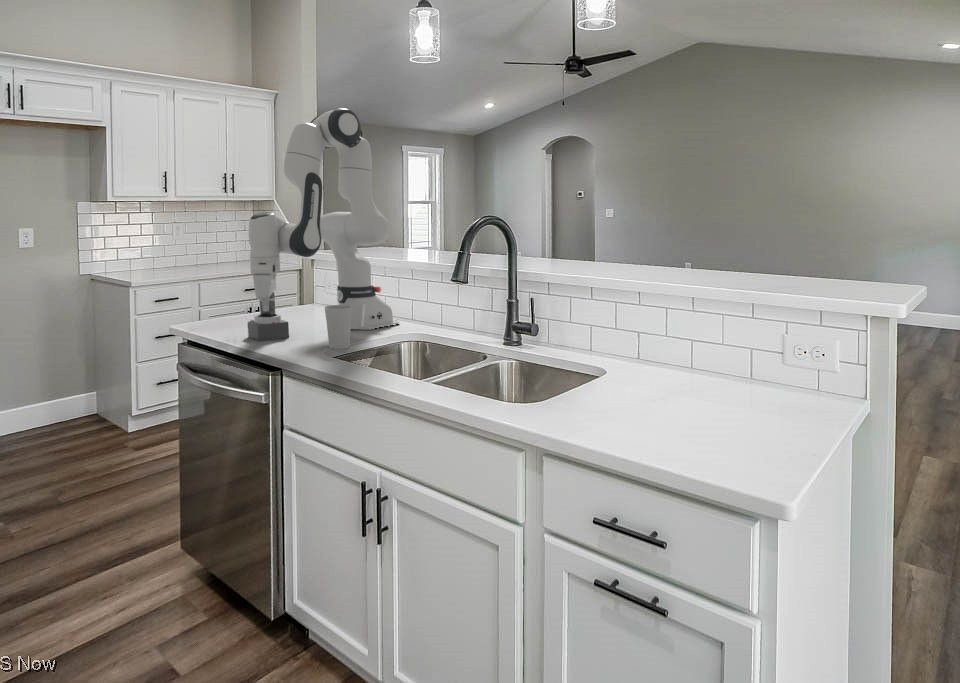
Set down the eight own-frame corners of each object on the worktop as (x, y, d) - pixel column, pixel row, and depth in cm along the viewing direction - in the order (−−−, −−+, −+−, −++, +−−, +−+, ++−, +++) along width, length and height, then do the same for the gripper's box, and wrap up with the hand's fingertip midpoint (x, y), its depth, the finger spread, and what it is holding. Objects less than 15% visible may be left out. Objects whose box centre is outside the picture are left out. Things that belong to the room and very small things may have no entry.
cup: (320, 347, 207) (318, 307, 205) (339, 342, 214) (338, 304, 211) (339, 350, 203) (338, 309, 200) (358, 346, 209) (357, 306, 207)
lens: (261, 319, 222) (259, 290, 220) (277, 319, 223) (275, 290, 221) (259, 322, 217) (257, 292, 215) (275, 322, 218) (273, 292, 216)
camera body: (278, 333, 227) (277, 312, 226) (289, 337, 220) (288, 315, 219) (248, 337, 221) (247, 315, 219) (259, 341, 214) (258, 319, 213)
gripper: (259, 262, 226) (261, 304, 229) (249, 268, 206) (252, 314, 209) (279, 262, 227) (281, 304, 230) (271, 268, 207) (273, 314, 210)
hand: (267, 309), depth 219 cm, fingers closed on lens, 4 cm apart
